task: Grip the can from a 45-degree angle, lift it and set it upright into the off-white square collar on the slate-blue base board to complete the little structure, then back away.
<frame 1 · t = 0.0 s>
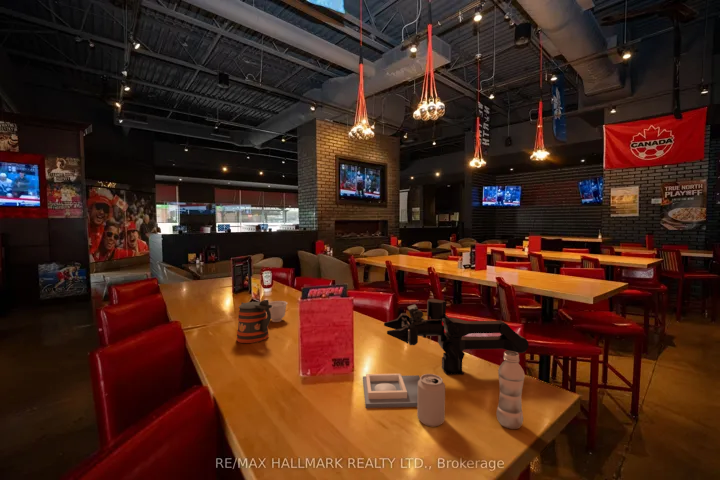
hand: (385, 328, 116), 17 cm above the table, tool horizontal, fingers open, 9 cm apart
can: (430, 420, 88), on the table
base board: (394, 391, 103), on the table
beer stein: (256, 339, 150), on the table
plastic bottle: (509, 425, 86), on the table
teacup: (275, 321, 177), on the table
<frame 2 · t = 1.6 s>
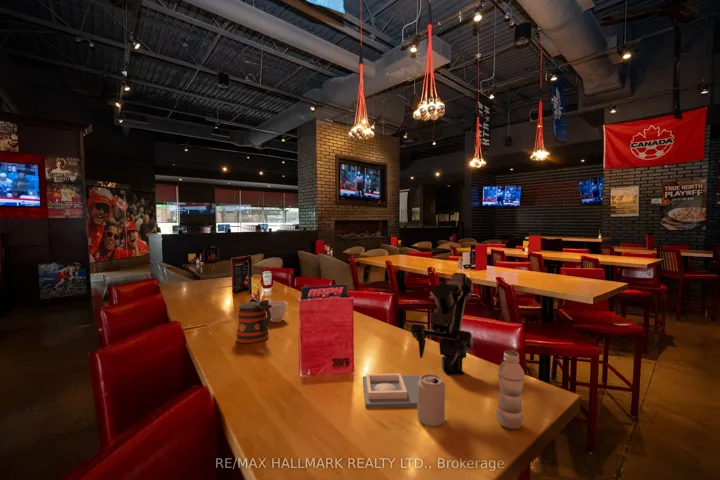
hand: (435, 360, 95), 14 cm above the table, tool tilted 45°, fingers open, 9 cm apart
nothing on the table moved.
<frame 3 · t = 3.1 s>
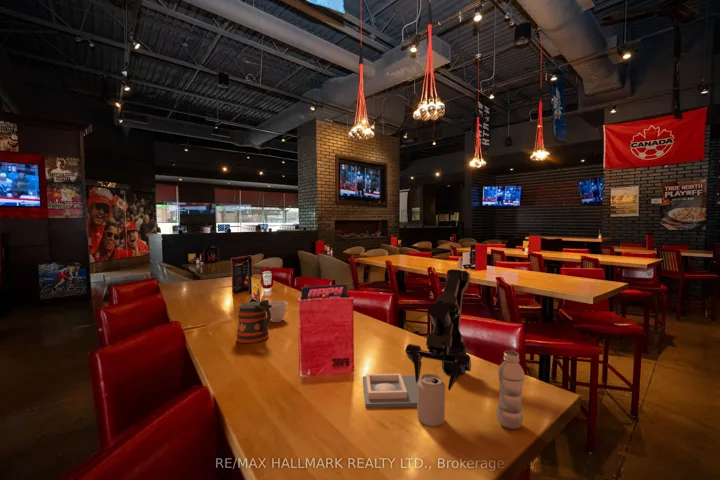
hand: (432, 385, 89), 9 cm above the table, tool tilted 45°, fingers open, 9 cm apart
nothing on the table moved.
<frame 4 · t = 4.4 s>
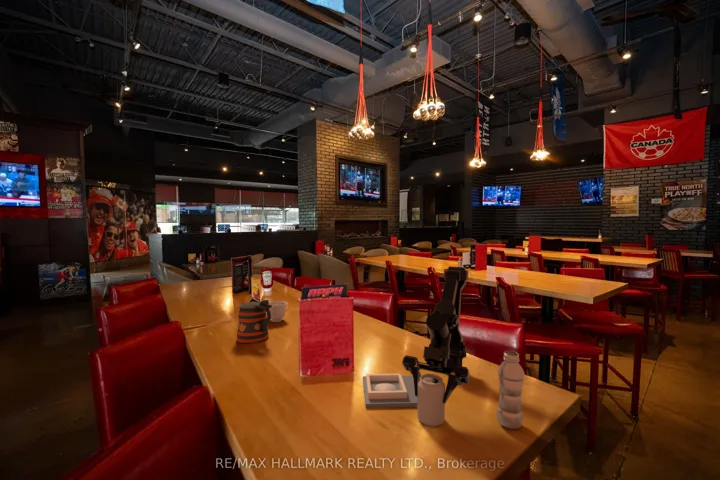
hand: (429, 399, 87), 7 cm above the table, tool tilted 45°, fingers closed on can, 7 cm apart
can: (430, 420, 88), on the table, touching gripper
everything else where it was.
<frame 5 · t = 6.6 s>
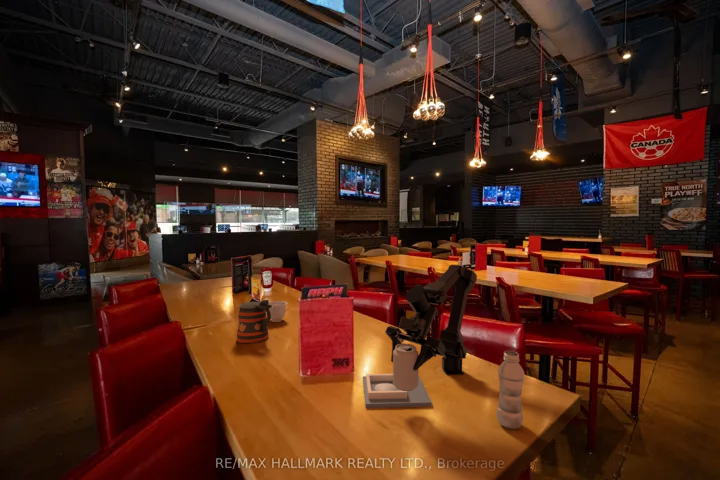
hand: (402, 365, 92), 13 cm above the table, tool tilted 45°, fingers closed on can, 7 cm apart
can: (405, 386, 94), point 6 cm above the table, touching gripper
everything else where it was.
when the fingers open (9 cm above the table, at t = 8.8 s): can drops 1 cm, resting on base board.
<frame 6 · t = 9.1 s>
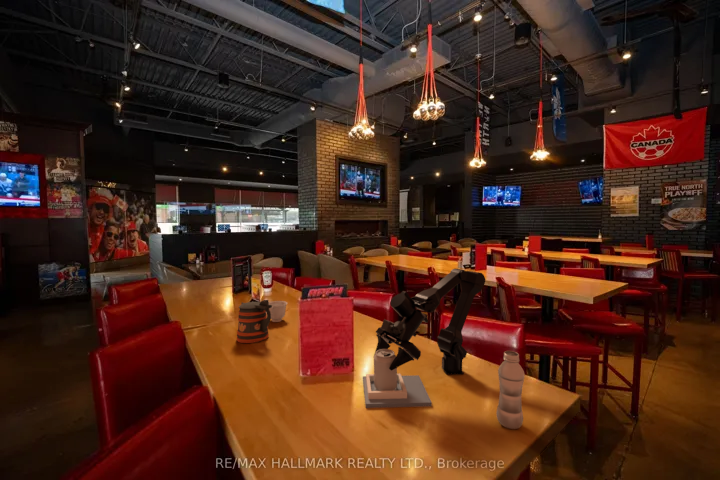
hand: (382, 363, 102), 10 cm above the table, tool tilted 45°, fingers open, 9 cm apart
can: (385, 388, 103), point 1 cm above the table, touching base board
everything else where it was.
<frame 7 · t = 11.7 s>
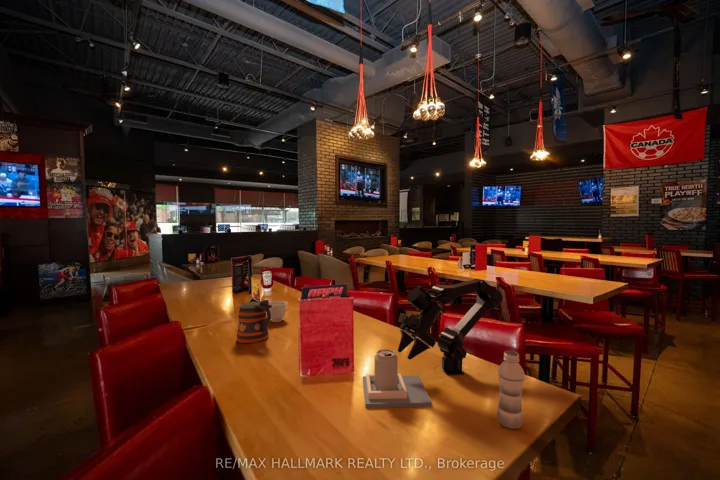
hand: (403, 355, 108), 10 cm above the table, tool tilted 40°, fingers open, 9 cm apart
nothing on the table moved.
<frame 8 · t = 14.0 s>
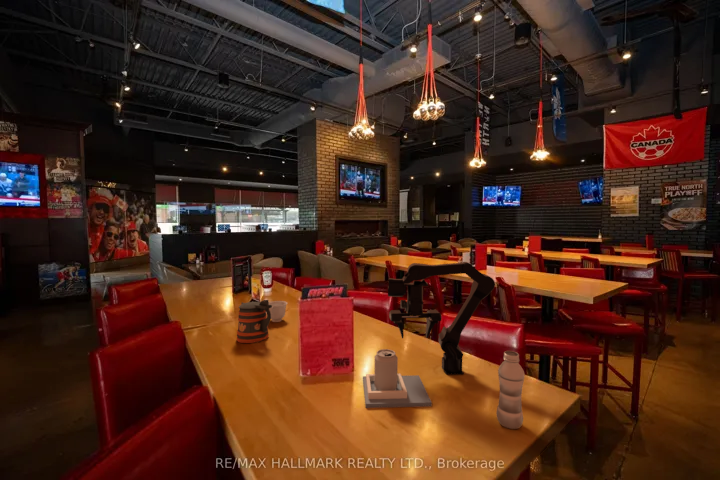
hand: (414, 337, 119), 12 cm above the table, tool pointing down, fingers open, 9 cm apart
nothing on the table moved.
at the end: can 0.1 cm from the target spot on the base board, point 1.1 cm above the base board's base; can tilted 0°; the gripper is holding nothing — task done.
